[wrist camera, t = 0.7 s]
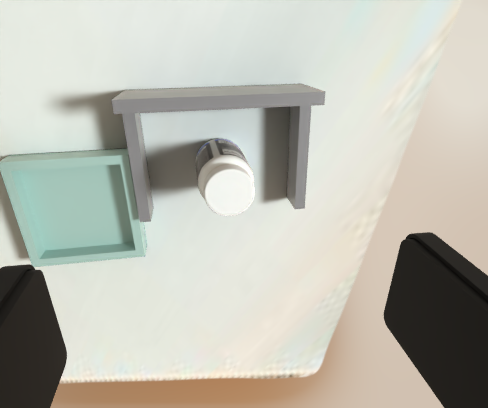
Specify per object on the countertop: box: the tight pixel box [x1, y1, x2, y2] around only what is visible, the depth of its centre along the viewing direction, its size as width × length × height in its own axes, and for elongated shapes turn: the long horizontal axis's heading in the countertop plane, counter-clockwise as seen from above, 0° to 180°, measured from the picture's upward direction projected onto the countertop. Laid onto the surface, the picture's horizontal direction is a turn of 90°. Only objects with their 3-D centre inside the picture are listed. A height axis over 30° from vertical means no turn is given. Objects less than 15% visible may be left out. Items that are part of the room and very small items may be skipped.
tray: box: [0, 148, 147, 267], centre depth 33 cm, size 11×11×2 cm
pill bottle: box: [196, 139, 255, 216], centre depth 30 cm, size 5×5×8 cm
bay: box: [112, 84, 325, 222], centre depth 31 cm, size 12×16×6 cm
